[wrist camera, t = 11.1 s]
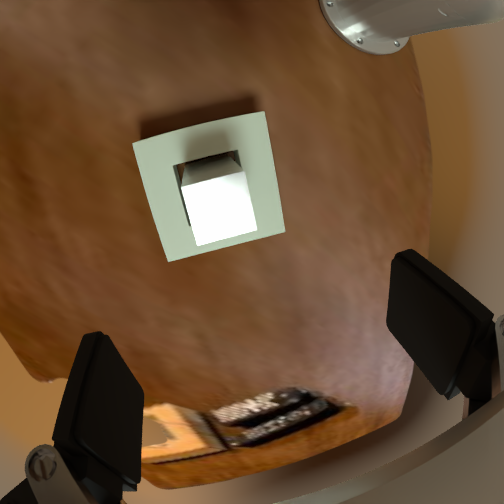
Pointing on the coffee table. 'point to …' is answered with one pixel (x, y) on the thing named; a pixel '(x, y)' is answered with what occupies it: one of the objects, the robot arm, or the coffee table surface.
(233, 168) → the steel bar
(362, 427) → the coffee table surface
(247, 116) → the well block
